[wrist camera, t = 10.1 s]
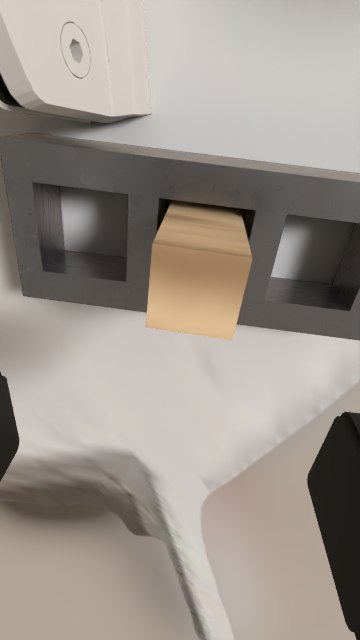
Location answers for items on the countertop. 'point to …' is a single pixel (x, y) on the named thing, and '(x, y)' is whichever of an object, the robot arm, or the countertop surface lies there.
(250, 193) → the rail
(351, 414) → the robot arm
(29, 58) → the hinge
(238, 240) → the peg
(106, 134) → the countertop surface
